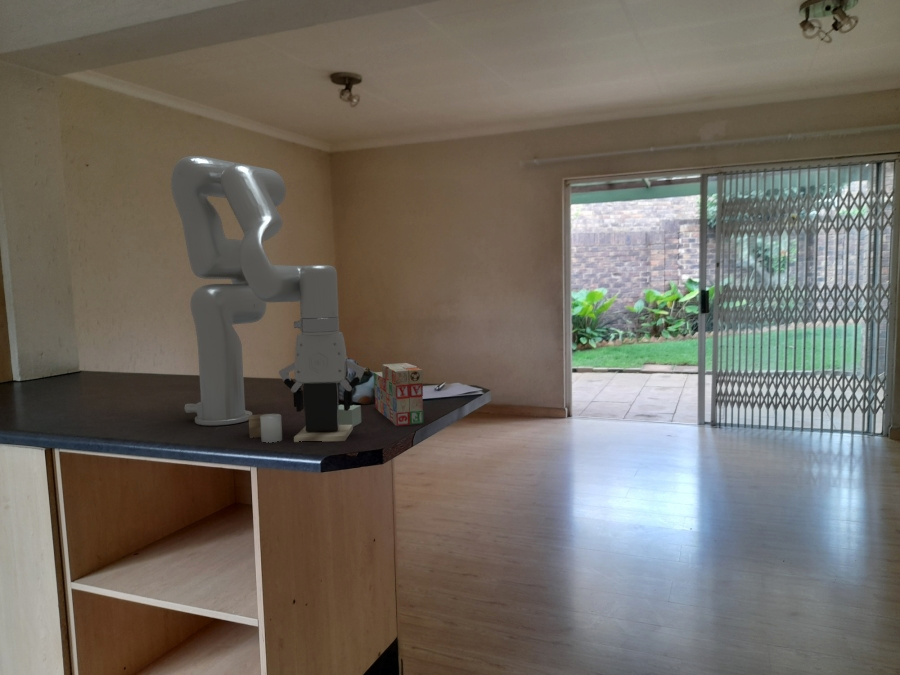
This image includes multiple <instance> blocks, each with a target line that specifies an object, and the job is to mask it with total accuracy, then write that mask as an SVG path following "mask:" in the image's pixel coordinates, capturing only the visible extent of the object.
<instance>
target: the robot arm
mask: <svg viewBox="0 0 900 675" xmlns="http://www.w3.org/2000/svg"><path fill="white" fill-rule="evenodd" d="M170 187H171V194H172V198H173V201H174V204H175V207H176V208H177V211H178V214H179V218H180V219H181V224H182V230H183V235H184V240H185V246H186V250H187V255H188V256H187V257H188V260H189V265H190V268H191V270H192V272H193V275H195V276H196V277H198V278H199V279H206V280H231V283H211V284H210V283H209V284H205V285H202V286H200V287H198V288H197V289H195V291H194V292H193V293H192V295H191V296H190V312H191V315H192V319H193V324H194V327H195V332H196V341H197V356H198V370H199V386H200V387H199V388H200V401H198V402H197V403H185V404H184V411H185V413H186V414H188V413H189V414H191V413H195V414H196V415H197V416H195V417H194V423H195V424H196V425H199V426H227V425H233V424H239V423H243V422H247V421H249V415H253V412H252V411H250V410H246V402H245V385H244V383H245V382H244V364H243V363H244V362H243V347H242V341H241V338H240V336H239V334H238V332H237V331H236V330H235V327H234V326H233V325H244V324H251V323H257V322H259V321H261V320H262V319H263V318H264V316H265V314H266V310H267V303H295V302H299V307H300V308H299V309H300V318H299V320H297V321H296V320H295V321H294V322H293V327H294V329H299V330H300V331H299V332H301V333H298V334H297V335H296V341H295V351H294V362H293V363H291V364H290V365H287V366H285V367H284V368H282V369H281V370H279V371H278V374H279V376H280V378H281V380H282V381H283V383H284V385H285V386H286V387H287V388H289V390H290V392H292V394H293V407H294V408H296V409H295V410H296V412H297V413H299V412H301V411H302V410H304V396H303V389H302V388H303V385H304V384H313V383H338V382H340V383H341V385H342V386H343V387H344V388H345V391H344V392H343V395H344V400H343V405H344V410H345V411H348V410H349V409H350V406H352V405H354V402H353V400H352V389H353V388H354V387H355V386H356V385H357V383H358V382H359V381H360V380H361V378H362V376H363V373H364V371H365V369H364V368H365V367H364V366H360V365H357V364H355V363H353V362H351V361H349V360H347V357H348V356H347V349H346V342H345V338H344V335H343V332H341V331H340V319H339V291H338V272H337V269H336V268H335V267H334V266H333V265H329V264H327V265H326V264H312V265H309V264H308V265H288V264H287V265H286V264H285V265H284V264H283V265H282V264H272V263H271V261H270V260H269V257H268V255H267V253H266V251H265V248H264V245H263V243H264V242H266V241H268V240H270V239H272V238H273V237H275V236H276V235H277V234H278V233H279V232H280V231H281V229H282V227H283V219H282V216H281V214H280V213H279V211H278V209H277V207H279V206H280V205H282V203H283V202H284V200H285V199H286V198H285V197H286V195H287V188H286V184H285V181H284V179H283V177H282V176H281V175H280V174H279V173H278V172H277V171H275V169H274V170H273V169H269V168H267V167H266V168H265V167H260V166H255V165H250V164H244V163H241V162H240V163H239V162H235V161H229V160H225V159H219V158H215V157H208V156H203V155H202V156H200V155H189V156H185V157H182V158H180V159H179V160H178V161H177V162H176V164H175V165H174V166H173V169H172V172H171V178H170ZM208 197H216V198H220V199H222V198H223V199H226V200H227V202H228V203H229V206H230V208H231V210H232V212H233V215H234V216H235V218H236V221H237V222H238V224H239V225H238V226H240V229H241V230H242V233H243V238H242V239H234V238H227V237H226V234H225V231H224V226H223V221H222V218H221V216H220V214H219V212H218V210H217V209H216V207H215V206H214V205H213V204H212V203H211V201H209V199H208ZM348 368H349V369H351V370H353V371H355V372H356V375H355V378H354V379H353V380H352V381H350V380H349V379H348V378H347V376H348ZM293 370H294V379H295V381H294V380H293V379H292V378H291V376H290V375H289V373H290V372H292V371H293Z"/></svg>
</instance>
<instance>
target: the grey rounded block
mask: <svg viewBox="0 0 900 675" xmlns="http://www.w3.org/2000/svg"><path fill="white" fill-rule="evenodd" d="M265 414H266V415H262V416H260V422H261V437H260V438H261V440H260V441H261V443H263V442H266V444H273V443H272V442H274V443H278V442H277V441H279V442H281V441H282V440H283V428H282V414H280V413H265ZM268 442H269V443H268Z"/></svg>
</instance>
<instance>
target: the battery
mask: <svg viewBox="0 0 900 675" xmlns="http://www.w3.org/2000/svg"><path fill="white" fill-rule="evenodd" d="M302 388H303V389H302V391H303V404H304V408H303V410H304V418H305V419H304V420H305V426H306V432H332V431H338V430H339V418H338V409H339V405H340V403H339V400H340V396H339V383H313V384H303V385H302Z"/></svg>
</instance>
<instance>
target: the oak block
mask: <svg viewBox="0 0 900 675" xmlns="http://www.w3.org/2000/svg"><path fill="white" fill-rule="evenodd" d="M266 414H267V413H261V414H252V415H249V420H248V431H249V438H250V439H252V438H253V437H254V438H261V422H260V416H262V415H266Z"/></svg>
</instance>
